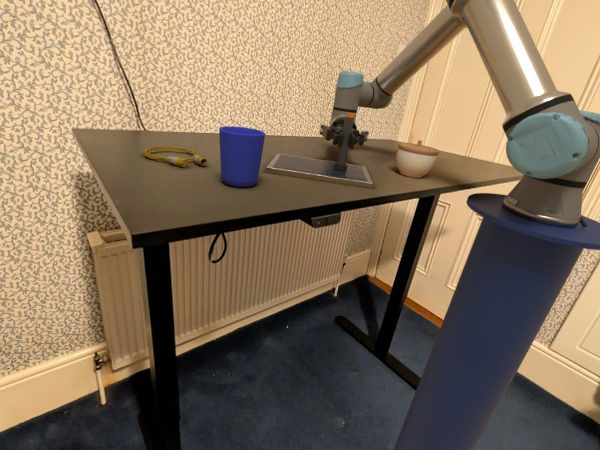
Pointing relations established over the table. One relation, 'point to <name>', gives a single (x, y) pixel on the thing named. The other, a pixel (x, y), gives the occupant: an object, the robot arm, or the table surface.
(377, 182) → the table surface
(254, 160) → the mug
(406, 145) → the trinket box
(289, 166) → the tablet
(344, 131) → the stylus
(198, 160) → the extension cord
